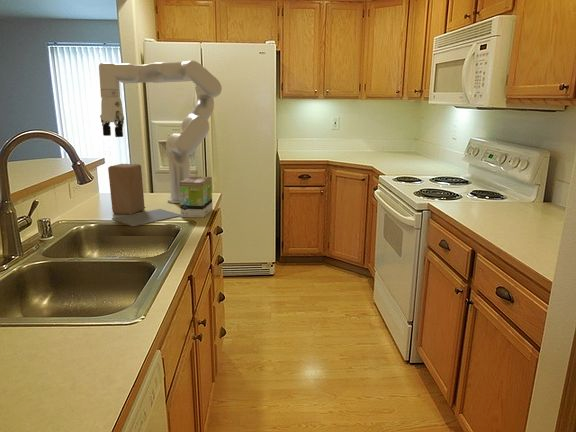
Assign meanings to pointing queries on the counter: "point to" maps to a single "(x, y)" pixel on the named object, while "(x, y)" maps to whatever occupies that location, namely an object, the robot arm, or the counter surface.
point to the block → (126, 188)
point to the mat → (146, 217)
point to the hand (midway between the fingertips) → (113, 136)
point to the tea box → (196, 196)
